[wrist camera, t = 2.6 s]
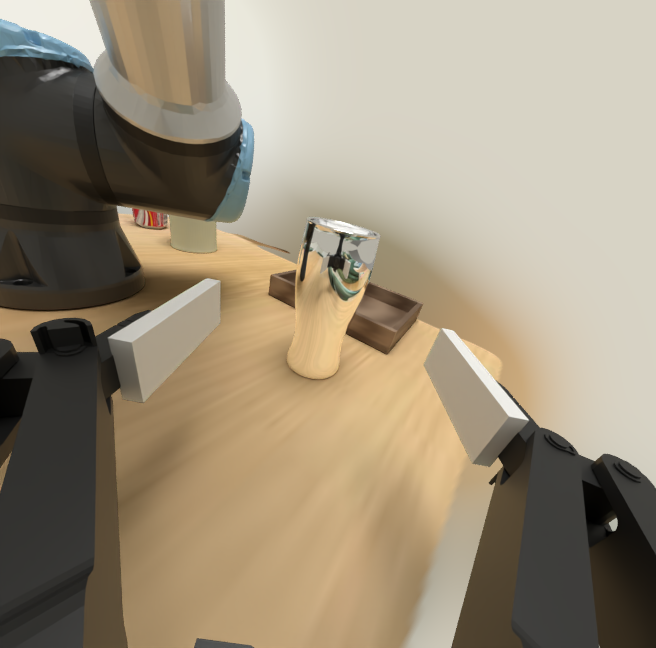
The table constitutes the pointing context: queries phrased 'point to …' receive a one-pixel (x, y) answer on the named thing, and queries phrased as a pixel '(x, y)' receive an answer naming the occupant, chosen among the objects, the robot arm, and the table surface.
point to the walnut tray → (364, 312)
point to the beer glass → (328, 292)
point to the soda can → (150, 219)
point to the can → (192, 235)
